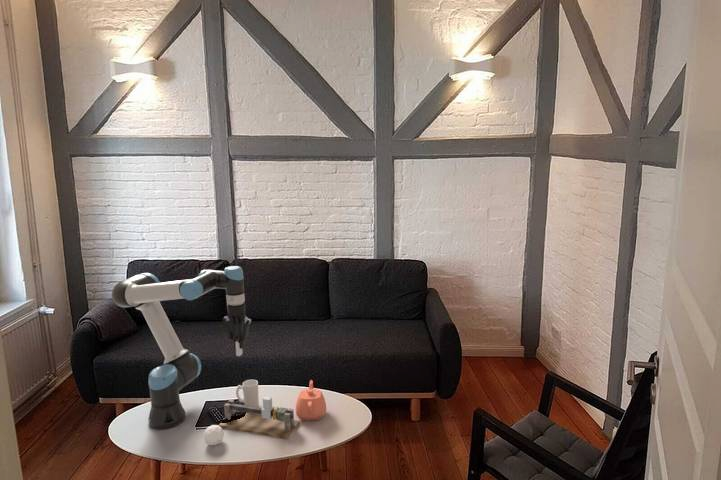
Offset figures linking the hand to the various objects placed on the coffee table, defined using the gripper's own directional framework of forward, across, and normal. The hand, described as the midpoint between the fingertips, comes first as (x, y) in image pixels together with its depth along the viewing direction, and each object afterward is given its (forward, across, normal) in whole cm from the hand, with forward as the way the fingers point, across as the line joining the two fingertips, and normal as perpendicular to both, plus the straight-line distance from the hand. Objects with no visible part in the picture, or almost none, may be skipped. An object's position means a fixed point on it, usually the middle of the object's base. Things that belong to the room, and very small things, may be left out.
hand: (239, 354), depth 228 cm
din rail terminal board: (+28, +11, -6) cm, 31 cm away
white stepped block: (+23, +15, -6) cm, 29 cm away
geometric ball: (+29, 0, -23) cm, 36 cm away
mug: (+29, -1, +6) cm, 29 cm away
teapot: (+29, +29, +8) cm, 42 cm away
